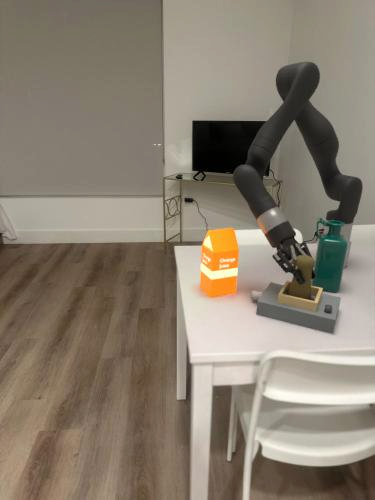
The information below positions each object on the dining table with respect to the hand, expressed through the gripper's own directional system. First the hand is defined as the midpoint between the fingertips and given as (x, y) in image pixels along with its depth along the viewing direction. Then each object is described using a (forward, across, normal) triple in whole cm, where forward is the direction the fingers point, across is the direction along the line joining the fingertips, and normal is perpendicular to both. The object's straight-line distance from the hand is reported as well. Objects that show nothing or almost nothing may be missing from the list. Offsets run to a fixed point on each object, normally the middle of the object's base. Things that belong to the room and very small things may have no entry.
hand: (308, 280), depth 96 cm
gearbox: (+5, 0, +10) cm, 11 cm away
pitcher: (+4, +22, +11) cm, 25 cm away
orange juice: (-10, -7, +26) cm, 29 cm away
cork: (+2, 0, +5) cm, 5 cm away
